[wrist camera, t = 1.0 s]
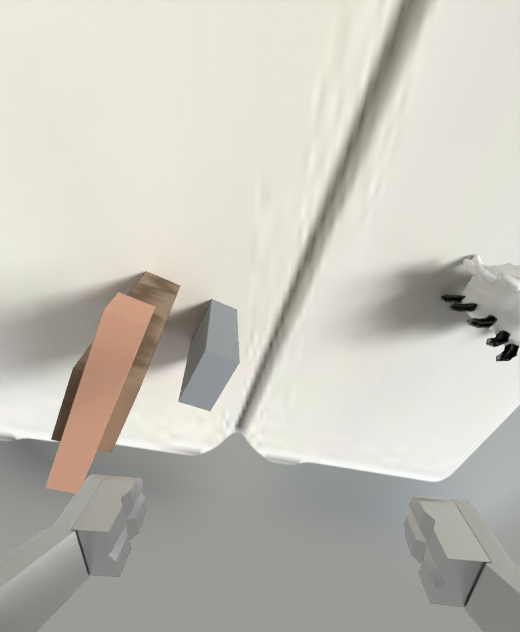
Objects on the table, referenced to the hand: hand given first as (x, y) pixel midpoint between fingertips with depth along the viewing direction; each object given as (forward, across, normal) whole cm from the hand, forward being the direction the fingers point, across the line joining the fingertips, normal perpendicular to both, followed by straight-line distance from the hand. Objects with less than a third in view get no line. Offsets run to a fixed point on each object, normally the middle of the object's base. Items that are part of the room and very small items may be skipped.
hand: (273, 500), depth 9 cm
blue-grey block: (+44, +12, +13) cm, 47 cm away
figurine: (+52, -42, +5) cm, 67 cm away
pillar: (+42, +22, +8) cm, 47 cm away
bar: (+16, +16, +9) cm, 24 cm away
